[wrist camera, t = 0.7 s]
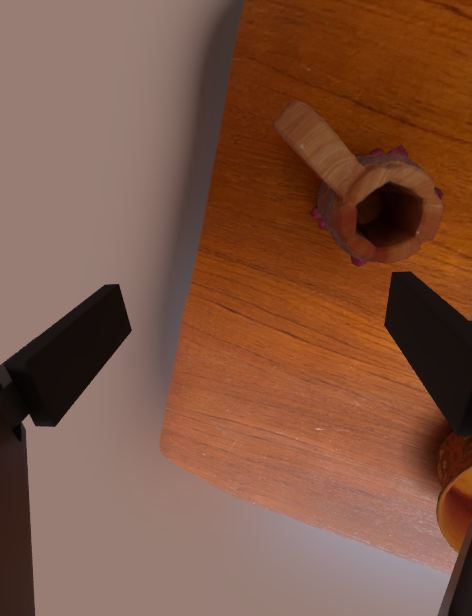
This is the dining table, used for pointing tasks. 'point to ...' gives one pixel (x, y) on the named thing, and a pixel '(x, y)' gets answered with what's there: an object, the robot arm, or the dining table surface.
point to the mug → (363, 191)
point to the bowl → (455, 488)
